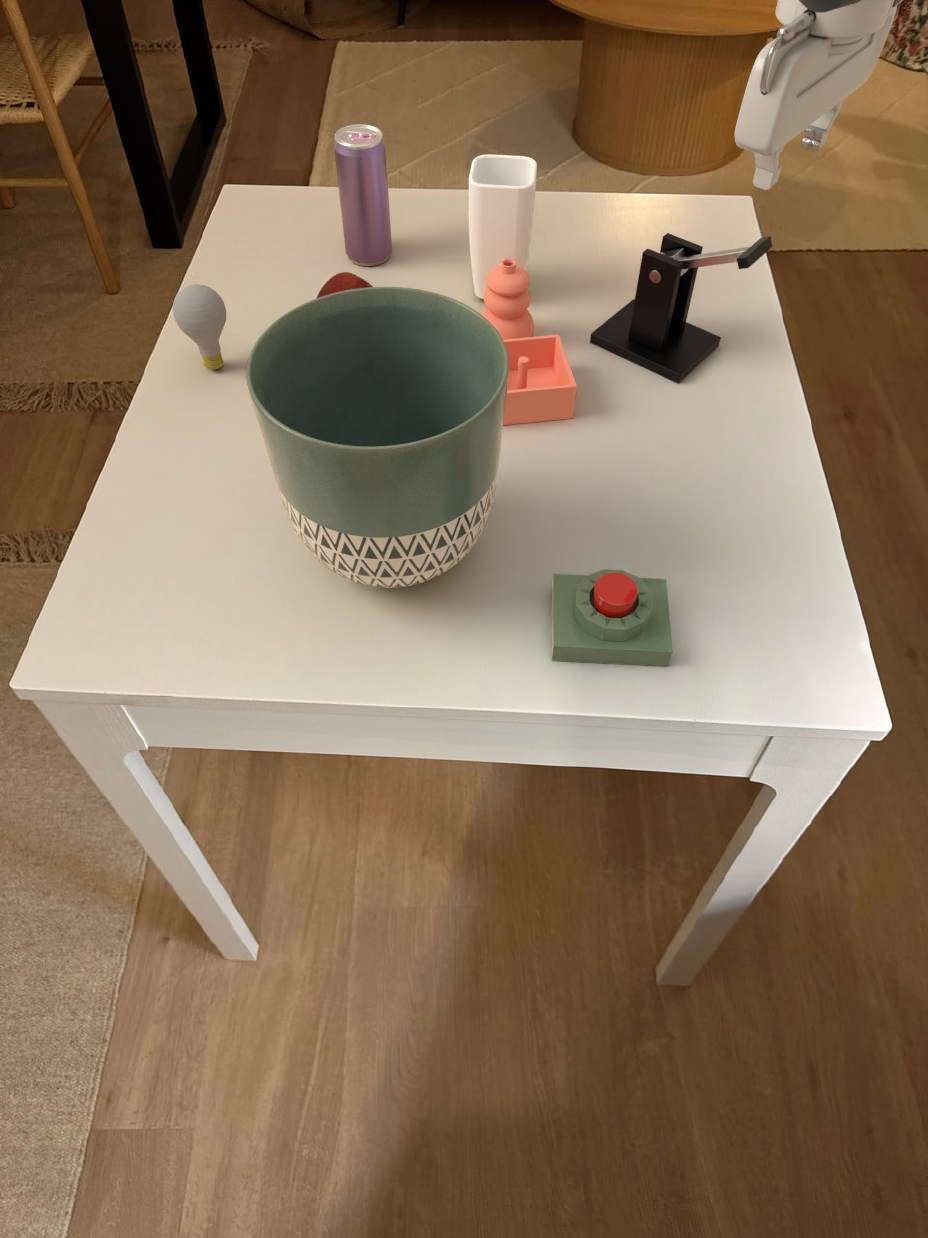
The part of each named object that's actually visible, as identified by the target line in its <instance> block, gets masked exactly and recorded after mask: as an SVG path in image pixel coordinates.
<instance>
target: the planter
mask: <svg viewBox="0 0 928 1238" xmlns="http://www.w3.org/2000/svg"><path fill="white" fill-rule="evenodd" d="M316 298H317V297H316ZM316 298H314V299H311V300H309V301H307V302H305V303H302V304H300V305H298V306H296V307H294V308H293V309H291V310H289V311H288V312H286V313H284V314H283V315H282V316H280V317H278V319H276V320H275V321H274V322H273V323H271V325H269V326H268V327H267V328H266V329H265V330H264V331H263V332H262V333H261V334H260V336H259V337H258V339H257V340H256V342H255V343H254V345H253V347H252V349H251V351H250V353H249V355H248V359H247V364H246V370H245V371H246V372H245V376H246V377H245V378H246V385H247V389H248V392H249V397H250V400H251V404H252V407H253V410H254V414H255V417H256V421H257V424H258V427H259V430H260V433H261V436H262V439H263V442H264V446H265V448H266V449H265V450H266V453H267V455H268V458H269V462H270V465H271V469H272V472H273V475H274V478H275V481H276V484H277V488H278V490H279V493H280V496H281V500H282V503H283V506H284V508H285V511H286V513H287V516H288V518H289V521H290V523H291V524H292V526H293V528H294V530H295V532H296V533H297V535H298V537H299V538H300V540H301V541H302V543H303V544H304V545H305V547H306V548H307V549H308V551H309V552H310V553H311V554H312V555H313V556H314V558H316V559H317V560H318V561H319V562H320V563H321V564H322V565H323V566H325V567H326V568H327V569H329V570H330V571H332V572H333V573H335V574H337V575H338V576H341V577H342V578H344V579H346V580H349V581H352V582H354V583H358V584H361V585H365V586H369V587H374V588H389V589H392V588H393V589H394V588H406V587H410V586H411V587H412V586H416V585H419V584H422V583H426V582H428V581H430V580H432V579H435V578H437V577H439V576H440V575H443V574H444V573H446V572H448V571H449V570H451V569H452V568H453V567H455V566H456V565H457V564H458V563H459V562H460V561H461V560H463V558H465V557H466V556H467V554H468V553H469V552H470V551H471V550H472V548H473V547H474V546H475V544H476V542H477V541H478V540H479V537H480V536H481V534H482V532H483V530H484V528H485V527H486V523H487V521H488V518H489V516H490V513H491V510H492V507H493V504H494V498H495V493H496V490H497V489H496V488H497V479H498V472H499V463H500V456H501V450H502V449H501V446H502V437H503V429H504V425H503V421H504V413H505V405H506V397H507V387H508V375H509V357H508V352H507V348H506V346H505V343H504V341H503V339H502V337H501V335H500V334H499V332H498V331H497V329H496V328H495V327H494V326H493V325H492V324H491V323H490V322H489V321H488V320H487V319H486V318H485V317H484V316H482V315H481V314H482V313H480V312H478V311H477V310H475V308H472V307H470V306H469V305H467V304H465V303H463V302H461V301H460V300H459V301H458V300H457V299H454V298H453V297H449V296H446V295H443V294H441V293H437V292H433V291H429V290H424V289H419V288H410V287H402V286H373V287H368V288H358V289H352V290H346V291H341V292H337V293H333V294H329V295H326V296H323V297H319V298H317V299H316Z"/></svg>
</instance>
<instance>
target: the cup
mask: <svg viewBox="0 0 928 1238" xmlns="http://www.w3.org/2000/svg"><path fill="white" fill-rule="evenodd" d="M537 169H538V163H537V161H536V160H534V158H531V157H529V156H525V155H512V154H511V155H509V154H508V155H507V154H490V153H489V154H481V155H478V156H476V157H474V158H473V160H472V161H471V166H470V171H469V176H468V234H469V235H468V237H469V238H468V239H469V254H470V255H469V256H470V266H471V275H472V282H473V283H472V284H473V291H474V295H475V296H476V297H477V298H479V299H481V300H483V301H484V294H485V291H486V289H487V288H488V286H487V284H486V277H487V274H488V272H489V271H490V270H492V269H493V268H495V267H497V266H499V265H501V261H502V260H504V259H513V260H515V261H516V266H519V267H521V268H522V269H524V270H525V271H526V272H527V273H528V265H529V258H530V251H531V242H532V231H533V224H534V223H533V222H534V216H535V215H534V214H535V213H534V212H535V201H536V189H537V173H538V172H537V171H538V170H537Z"/></svg>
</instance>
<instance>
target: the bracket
mask: <svg viewBox="0 0 928 1238" xmlns="http://www.w3.org/2000/svg"><path fill="white" fill-rule="evenodd" d="M660 244H661V245H660V250H659V252H658V251H655V250H653V249H651V248H646V249H645V250H643V251H642V254H641V259H640V267H639V270H638V271H639V272H638V279H637V283H636V290H635V295H634V298H633V299H632V300H630V301H629V302H628V303H627V304H625V305H624V306H623V307H622V308H620V310H618V311H617V312H616V313H614V314H613V315H612V316H610V317H609V318H608V319H606V320H605V322H603V323H602V324H601V325H599V326H598V327H597V328H596V329H595V330H593V331H592V332H591V333H590V338H589V343H591V344H593V345H595V346H596V347H599V348H601V349H603V350H605V351H608V352H609V353H612V354H614V355H616V356H619V357H621V358H622V359H625V360H627V361H629V362H631V363H633V364H635V365H637V366H640V367H642V368H644V369H646V370H648V371H651V372H653V373H655V374H656V375H659V376H661V377H663V378H665V379H668V380H670V381H672V382H674V383H676V384H680V383H681V382H682V381H683V380H684V379H685V378H686V377H687V376H688V375H689V374H690V373H692V372H693V371H694V370H695V369H696V368H697V367H698V366H700V365H701V364H702V363H703V361H705V359H707V358H708V357H709V356H710V355H711V354H712V353H713V352H714V351H715V350H716V349H717V348H719V346H720V343H721V341H722V336H719V335H718V334H715V333H712V332H711V331H708V330H707V329H703V328H702V327H698V326H697V325H694V324H692V323H689V322H687V320H688V315H689V310H690V306H691V301H692V298H693V292H694V288H695V284H696V279H697V275H698V270H699V267H696V268H689V269H688V271H687V272H685V273H684V274H683V275H682V276H681V271H682V266H683V263H682V262H680V261H677V260H675V259H673V258H670V257H668V256H665V255H663V254H660V253H661V252H663V251H669V250H675V249H682V248H683V249H684V253H685V256H692V255H698V254H703V249H704V246H702V245H699V244H697V243H694V242H692V241H689V240H687V239H685V238H682V237H679V236H677V235H674V234H671V233H670V232H667V233H665V234H664V235H663V236H662V239H661V243H660Z"/></svg>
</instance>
